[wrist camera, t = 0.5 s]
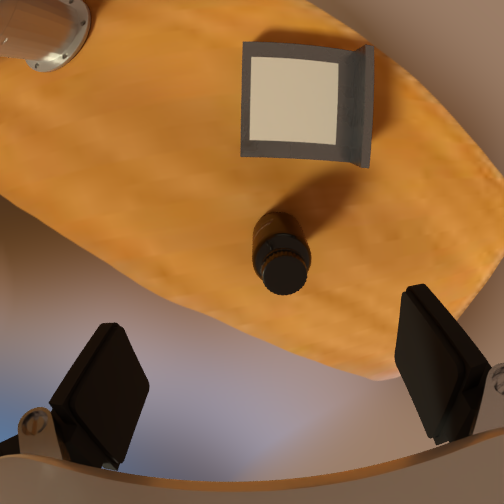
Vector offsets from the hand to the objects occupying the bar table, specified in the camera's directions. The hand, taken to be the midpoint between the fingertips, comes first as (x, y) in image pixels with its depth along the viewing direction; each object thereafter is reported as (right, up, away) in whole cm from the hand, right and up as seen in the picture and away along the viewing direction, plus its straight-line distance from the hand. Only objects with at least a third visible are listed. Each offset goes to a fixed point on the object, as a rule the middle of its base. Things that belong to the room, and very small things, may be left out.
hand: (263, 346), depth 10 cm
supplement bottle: (+3, +5, +33) cm, 34 cm away
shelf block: (+5, +22, +26) cm, 34 cm away
